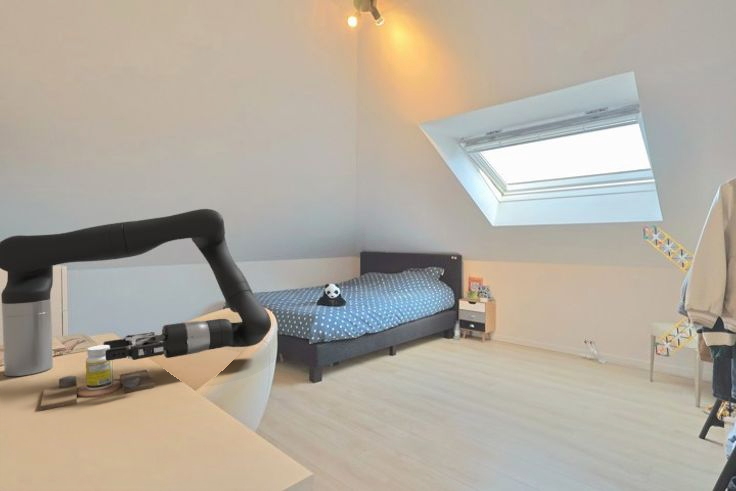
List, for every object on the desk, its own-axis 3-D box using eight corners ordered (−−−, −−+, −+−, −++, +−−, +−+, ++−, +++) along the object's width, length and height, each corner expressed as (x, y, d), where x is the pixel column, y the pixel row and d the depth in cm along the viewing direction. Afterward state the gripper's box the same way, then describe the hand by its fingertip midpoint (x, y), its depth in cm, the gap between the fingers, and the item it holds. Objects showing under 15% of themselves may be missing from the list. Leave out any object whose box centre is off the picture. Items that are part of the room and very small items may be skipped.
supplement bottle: (95, 383, 89) (93, 344, 89) (117, 382, 90) (116, 343, 90) (81, 391, 85) (80, 350, 84) (105, 390, 85) (104, 349, 85)
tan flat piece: (44, 391, 86) (44, 380, 86) (146, 372, 97) (146, 362, 97) (40, 410, 76) (40, 397, 76) (154, 387, 87) (154, 376, 87)
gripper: (179, 318, 102) (102, 327, 93) (192, 327, 91) (105, 339, 81) (180, 348, 103) (103, 360, 93) (193, 361, 91) (107, 377, 82)
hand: (104, 350), depth 87 cm, fingers open, 8 cm apart
